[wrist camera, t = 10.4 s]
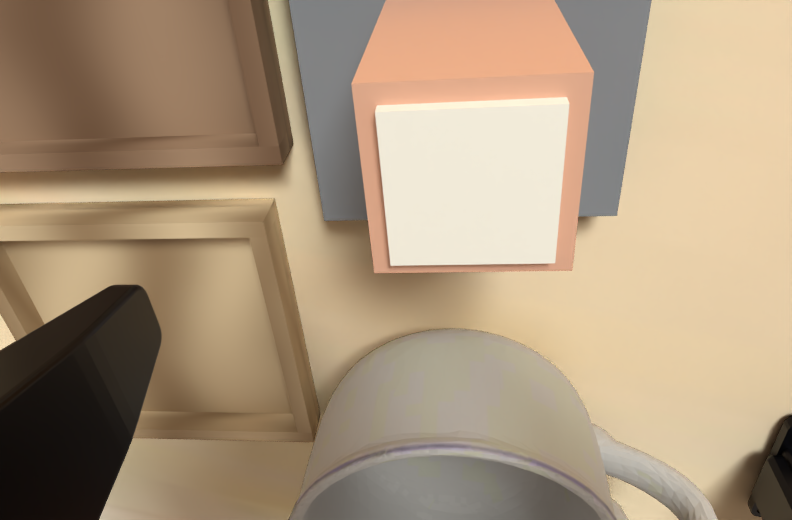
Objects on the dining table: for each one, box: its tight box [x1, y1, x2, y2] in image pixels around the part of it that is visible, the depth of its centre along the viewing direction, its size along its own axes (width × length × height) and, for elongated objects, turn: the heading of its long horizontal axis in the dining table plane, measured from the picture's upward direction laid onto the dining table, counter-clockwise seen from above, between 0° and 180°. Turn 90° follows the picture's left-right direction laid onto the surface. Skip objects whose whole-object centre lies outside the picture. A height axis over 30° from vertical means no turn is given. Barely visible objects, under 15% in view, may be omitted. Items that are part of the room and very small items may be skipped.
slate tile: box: [289, 0, 651, 221], centre depth 17 cm, size 9×9×2 cm
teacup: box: [289, 329, 718, 520], centre depth 22 cm, size 14×11×8 cm
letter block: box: [351, 0, 594, 273], centre depth 14 cm, size 4×4×6 cm
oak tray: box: [0, 199, 320, 442], centre depth 24 cm, size 11×11×2 cm
